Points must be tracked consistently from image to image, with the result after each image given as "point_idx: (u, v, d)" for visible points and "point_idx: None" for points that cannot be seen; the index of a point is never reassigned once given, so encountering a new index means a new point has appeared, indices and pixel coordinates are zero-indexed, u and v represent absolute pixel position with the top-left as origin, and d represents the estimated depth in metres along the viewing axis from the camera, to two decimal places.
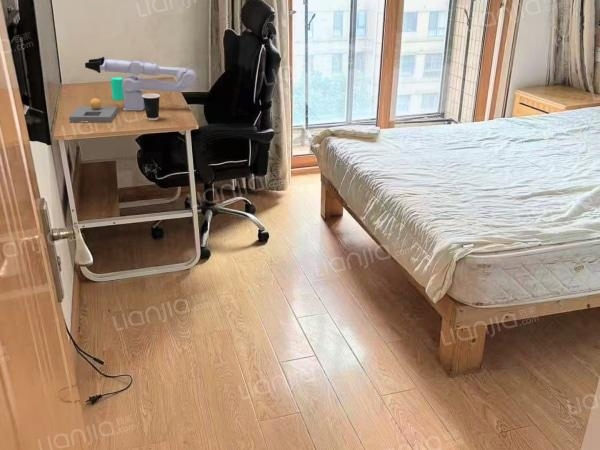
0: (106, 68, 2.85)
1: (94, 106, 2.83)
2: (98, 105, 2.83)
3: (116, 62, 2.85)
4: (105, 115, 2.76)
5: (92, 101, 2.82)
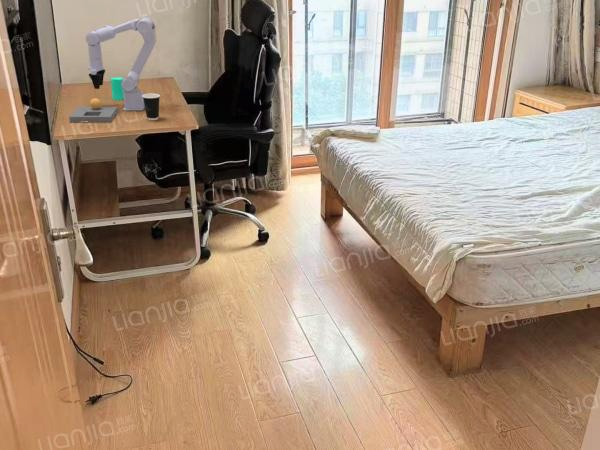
0: (97, 68, 2.85)
1: (94, 106, 2.83)
2: (98, 105, 2.83)
3: (90, 58, 2.84)
4: (105, 115, 2.76)
5: (92, 101, 2.82)
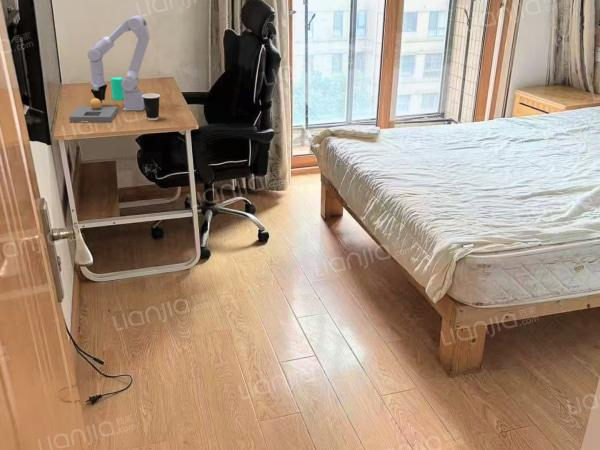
0: (99, 83, 2.89)
1: (94, 106, 2.83)
2: (98, 105, 2.83)
3: (92, 73, 2.87)
4: (105, 115, 2.76)
5: (92, 101, 2.82)
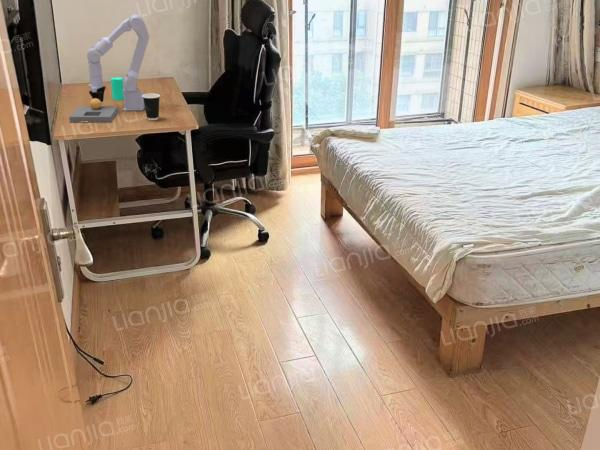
0: (97, 85, 2.85)
1: (94, 106, 2.83)
2: (98, 105, 2.83)
3: (91, 75, 2.83)
4: (105, 115, 2.76)
5: (92, 101, 2.82)
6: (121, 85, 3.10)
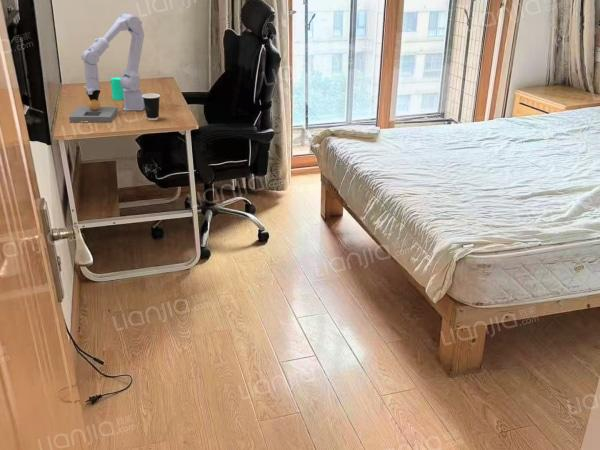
0: (93, 87, 2.78)
1: None
2: (97, 108, 2.82)
3: (89, 77, 2.76)
4: (105, 115, 2.76)
5: (91, 106, 2.81)
6: None
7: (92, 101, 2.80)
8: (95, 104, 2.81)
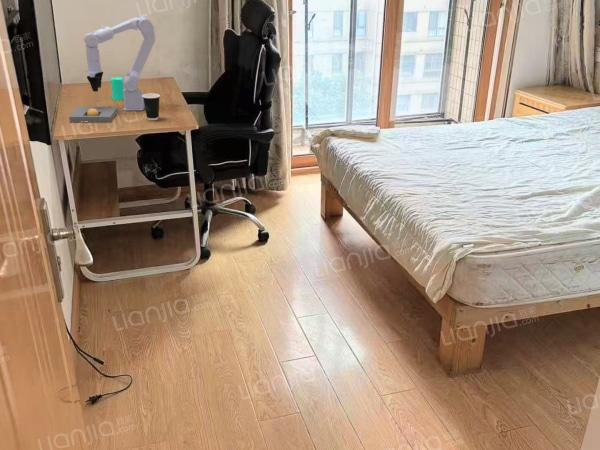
0: (95, 70, 2.81)
1: None
2: (96, 110, 2.78)
3: (89, 60, 2.79)
4: (105, 115, 2.76)
5: None
6: (121, 85, 3.10)
7: None
8: None
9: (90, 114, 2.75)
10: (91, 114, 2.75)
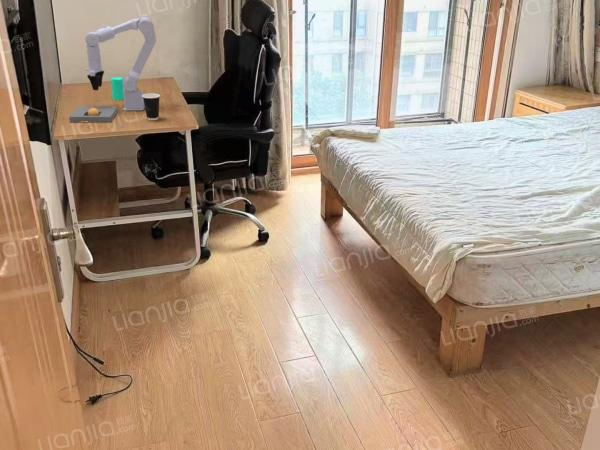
0: (96, 69, 2.83)
1: None
2: None
3: (89, 59, 2.81)
4: (105, 115, 2.76)
5: None
6: (121, 85, 3.10)
7: None
8: None
9: (91, 112, 2.75)
10: (92, 112, 2.75)
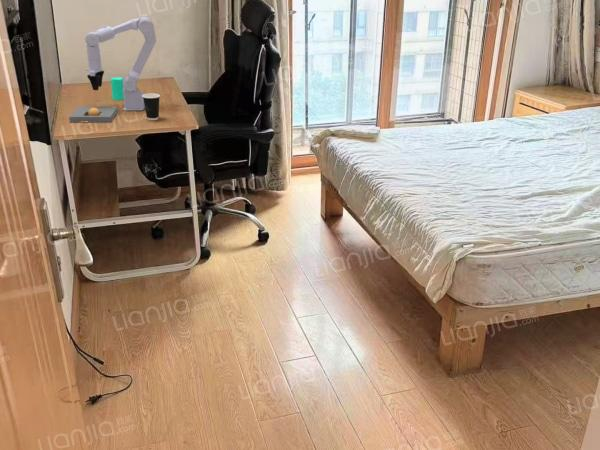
0: (96, 69, 2.83)
1: None
2: None
3: (89, 59, 2.81)
4: (105, 115, 2.76)
5: None
6: (121, 85, 3.10)
7: None
8: None
9: (91, 110, 2.76)
10: (92, 110, 2.76)
